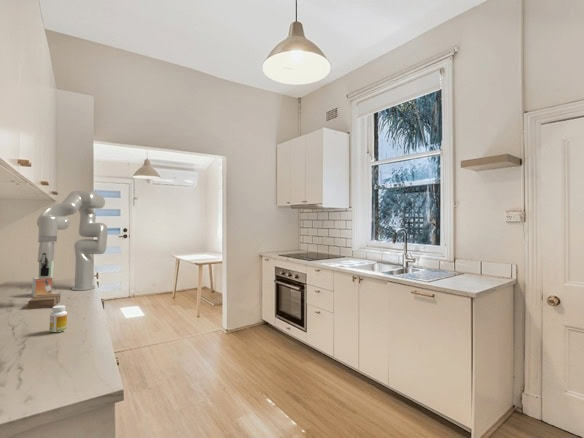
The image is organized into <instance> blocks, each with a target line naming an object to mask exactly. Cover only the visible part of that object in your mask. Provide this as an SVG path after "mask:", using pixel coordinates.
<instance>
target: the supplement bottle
mask: <svg viewBox="0 0 584 438" xmlns="http://www.w3.org/2000/svg"><path fill="white" fill-rule="evenodd" d="M51 310H52V312H50V314H49V331H50V332H61V331H64V332H66V331H67V324H68V321H67V320H68V312H67V311H66V305H63V304H62V305H61V304H60V305H56V306H54V307H53V308H52V309H51ZM65 330H66V331H65ZM49 331H48V332H49ZM50 332H49V333H50ZM61 333H62V332H61Z"/></svg>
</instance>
